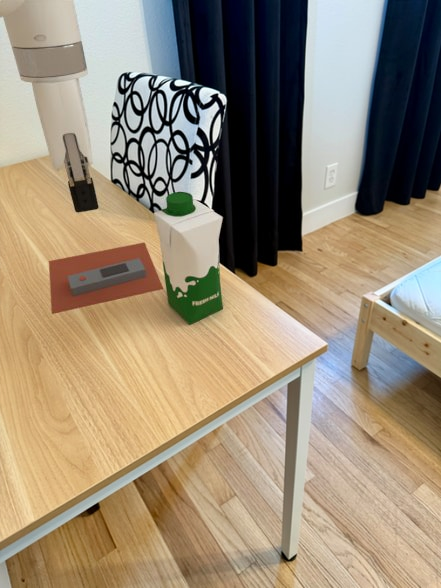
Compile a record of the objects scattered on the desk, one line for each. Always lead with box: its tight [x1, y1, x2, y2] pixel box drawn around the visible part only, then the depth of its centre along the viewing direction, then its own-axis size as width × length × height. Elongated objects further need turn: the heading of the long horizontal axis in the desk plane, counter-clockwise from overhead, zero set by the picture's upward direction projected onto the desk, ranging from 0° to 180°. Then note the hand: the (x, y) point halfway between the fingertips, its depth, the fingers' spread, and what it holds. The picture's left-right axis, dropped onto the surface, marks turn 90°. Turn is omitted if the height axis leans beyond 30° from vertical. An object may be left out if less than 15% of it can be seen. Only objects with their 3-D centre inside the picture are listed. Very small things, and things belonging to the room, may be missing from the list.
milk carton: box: [153, 191, 224, 326], centre depth 69 cm, size 9×9×20 cm
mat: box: [48, 242, 164, 315], centre depth 84 cm, size 20×18×1 cm
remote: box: [68, 258, 146, 296], centre depth 82 cm, size 14×4×2 cm, turn 114°
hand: (86, 208), depth 60 cm, fingers closed
